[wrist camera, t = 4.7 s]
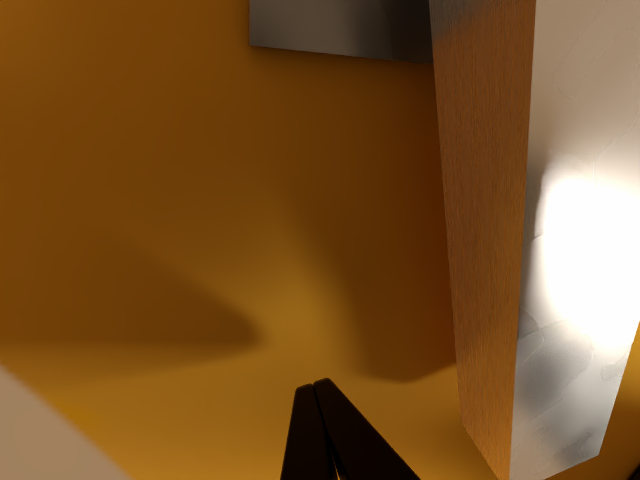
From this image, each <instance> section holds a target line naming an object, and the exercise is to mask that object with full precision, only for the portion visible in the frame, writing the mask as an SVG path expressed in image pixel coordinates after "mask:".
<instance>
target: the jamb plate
mask: <svg viewBox="0 0 640 480" xmlns="http://www.w3.org/2000/svg"><path fill="white" fill-rule="evenodd" d="M248 45H250V46H260V47H269V48H279V49H288V50H298V51H307V52H317V53H326V54H336V55H346V56H355V57H365V58H374V59H384V60H393V61H403V62H412V63H422V64H431V65H434V60H433V47H432V33H431V20H430V7H429V0H248Z"/></svg>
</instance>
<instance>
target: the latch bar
mask: <svg viewBox="0 0 640 480" xmlns="http://www.w3.org/2000/svg"><path fill="white" fill-rule="evenodd" d="M429 7H430V20H431V33H432V47H433V60H434V73H435V86H436V99H437V113H438V126H439V139H440V152H441V165H442V179H443V192H444V205H445V218H446V231H447V245H448V258H449V271H450V284H451V297H452V311H453V324H454V337H455V350H456V363H457V377H458V390H459V403H460V416H461V423H462V425H463V426H464V428H465V429H466V431H467V432H468V434H469V436H470V437H471V439H472V440H473V442H474V443H475V445H476V446H477V448H478V449H479V451H480V453H481V454H482V456H483V457H484V459H485V460H486V462H487V463H488V465H489V466H490V468H491V470H492V471H493V473H494V474H495V476H496V477H497V479H498V480H544V479H546V478H549V477H551V476H553V475H555V474H557V473H560V472H562V471H564V470H566V469H569V468H571V467H573V466H575V465H578V464H580V463H582V462H584V461H587V460H589V459H591V458H593V457H596V456H598V455H599V452H600V449H601V445H602V442H603V439H604V435H605V432H606V429H607V425H608V422H609V419H610V416H611V412H612V409H613V406H614V402H615V399H616V396H617V392H618V389H619V386H620V383H621V379H622V376H623V373H624V369H625V366H626V363H627V360H628V356H629V353H630V350H631V346H632V343H633V340H634V336H635V333H636V330H637V327H638V323H639V320H640V0H429Z"/></svg>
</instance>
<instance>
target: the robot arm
mask: <svg viewBox="0 0 640 480" xmlns="http://www.w3.org/2000/svg"><path fill="white" fill-rule="evenodd" d="M331 452H332V453H331ZM333 459H334V460H333ZM334 463H335V464H334ZM335 466H336V468H335ZM336 470H337V472H336ZM337 473H338V476H339V479H340V480H421V479H420V478H419V477H418V476H417V475H416V474H415V473H414V471H413V470H412V469H411V468H410V467H409V466H408V465H407V464H406V463H405V462H404V460H403V459H402V458H401V457H400V456H399V455H398V454H397V453H396V452H395V450H394V449H393V448H392V447H391V446H390V445H389V444H388V443H387V442H386V440H385V439H384V438H383V437H382V436H381V435H380V434H379V433H378V432H377V431H376V429H375V428H374V427H373V426H372V425H371V424H370V423H369V422H368V421H367V419H366V418H365V417H364V416H363V415H362V414H361V413H360V412H359V411H358V409H357V408H356V407H355V406H354V405H353V404H352V403H351V402H350V401H349V399H348V398H347V397H346V396H345V395H344V394H343V393H342V392H341V391H340V390H339V388H338V387H337V386H336V385H335V384H334V383H333V382H332V381H331V380H330V379H329V378H324V379H321V380H318V381H315V382H314V383H313V385H312V384H311V383H309V384H306V385H303V386H300V387H297V389H296V391H295V396H294V402H293V408H292V413H291V419H290V425H289V431H288V437H287V443H286V448H285V454H284V460H283V466H282V472H281V477H280V480H338V476H337ZM633 480H640V472H639V473H638V474H637V475H636V476H635V478H634V479H633Z"/></svg>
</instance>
